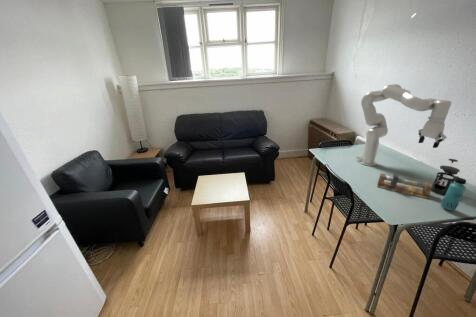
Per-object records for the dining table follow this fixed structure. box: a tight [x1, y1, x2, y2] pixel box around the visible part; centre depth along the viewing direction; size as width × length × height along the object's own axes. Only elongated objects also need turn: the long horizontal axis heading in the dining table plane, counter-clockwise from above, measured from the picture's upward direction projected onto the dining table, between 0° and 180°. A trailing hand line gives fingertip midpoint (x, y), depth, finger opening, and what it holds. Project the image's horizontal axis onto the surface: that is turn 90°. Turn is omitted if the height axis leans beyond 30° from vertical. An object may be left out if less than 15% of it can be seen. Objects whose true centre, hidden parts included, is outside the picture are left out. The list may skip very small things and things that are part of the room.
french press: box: [430, 158, 461, 196], centre depth 129 cm, size 12×9×23 cm
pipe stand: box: [376, 172, 433, 200], centre depth 136 cm, size 27×10×8 cm, turn 55°
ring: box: [390, 171, 400, 188], centre depth 138 cm, size 2×8×8 cm, turn 145°
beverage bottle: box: [440, 177, 467, 211], centre depth 114 cm, size 6×7×20 cm
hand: (427, 145), depth 138 cm, fingers open, 9 cm apart
